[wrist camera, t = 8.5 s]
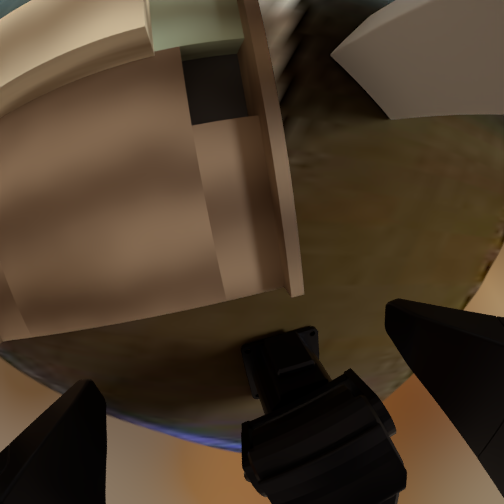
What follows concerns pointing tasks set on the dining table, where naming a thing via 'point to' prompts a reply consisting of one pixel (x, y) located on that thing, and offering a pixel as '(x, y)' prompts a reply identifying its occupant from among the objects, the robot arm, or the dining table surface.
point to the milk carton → (430, 57)
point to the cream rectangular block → (67, 44)
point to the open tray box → (150, 182)
